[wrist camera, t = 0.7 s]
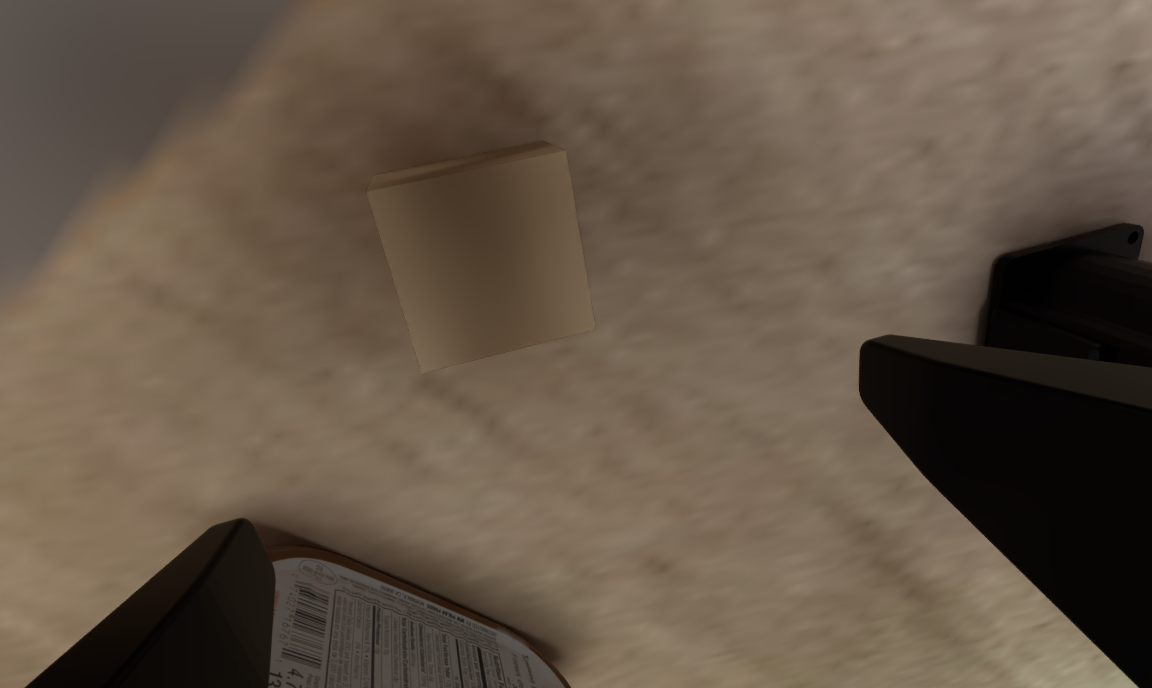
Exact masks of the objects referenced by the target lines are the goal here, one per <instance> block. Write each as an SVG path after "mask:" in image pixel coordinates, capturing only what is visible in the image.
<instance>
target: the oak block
mask: <svg viewBox="0 0 1152 688" xmlns="http://www.w3.org/2000/svg"><path fill="white" fill-rule="evenodd" d="M366 193H367V196H368V200H369V203H370V206H371V209H372V213H373V216H374V219H375V222H376V226H377V229H378V232H379V236H380V239H381V242H382V245H383V249H384V252H385V255H386V258H387V262H388V265H389V268H390V271H391V275H392V278H393V281H394V284H395V288H396V291H397V294H398V297H399V301H400V304H401V307H402V310H403V314H404V317H405V320H406V323H407V327H408V330H409V333H410V336H411V340H412V343H413V346H414V349H415V353H416V356H417V359H418V362H419V366H420V369H421V372H422V374H423V373H427V372H431V371H435V370H438V369H442V368H446V367H450V366H454V365H458V364H462V363H466V362H470V361H474V360H478V359H482V358H486V357H489V356H493V355H497V354H501V353H505V352H509V351H513V350H517V349H521V348H525V347H529V346H533V345H536V344H540V343H544V342H548V341H552V340H556V339H560V338H564V337H568V336H572V335H576V334H580V333H583V332H587V331H591V330H595V329H596V327H595V321H594V315H593V309H592V303H591V298H590V292H589V286H588V280H587V274H586V268H585V262H584V256H583V250H582V244H581V238H580V232H579V226H578V220H577V214H576V208H575V202H574V196H573V190H572V184H571V178H570V172H569V166H568V160H567V154H566V150H564V149H562V148H559V147H557V146H555V145H552V144H550V143H548V142H545V141H539V142H534V143H529V144H524V145H520V146H515V147H510V148H505V149H500V150H495V151H490V152H485V153H480V154H476V155H471V156H466V157H461V158H456V159H451V160H446V161H441V162H436V163H431V164H427V165H422V166H417V167H412V168H407V169H402V170H397V171H392V172H387V173H383V174H378V175H373V177H372V179H371V181H370V184H369V186H368V189H367V191H366Z"/></svg>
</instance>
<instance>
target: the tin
mask: <svg viewBox="0 0 1152 688" xmlns="http://www.w3.org/2000/svg"><path fill="white" fill-rule="evenodd" d="M265 549H266V551H267V553H268V555H269V557H270V559H271V561H272V563H273V566H274V570H275V576H276V586H275V601H274V617H273V632H272V647H271V662H270V676H269V686H268V688H571V687H570V685H569V684H568V682H567V681H566V680H565V678H564V677H563V676H562V675H561V674H560V672H559V671H558V670H557V669H556V668H555V667H554V666H553V665H552V663H551V662H550V661H549V660H548V659H547V658H546V657H545V656H544V655H543V654H542V653H540V652H539V651H538V650H537V649H536V648H535V647H534V646H532V645H531V644H530V643H529V642H527V641H526V640H525V639H523V638H522V637H520V636H519V635H517V634H516V633H514V632H512V631H511V630H509V629H507V628H505V627H503V626H502V625H499V624H497V623H495V622H493V621H490V620H488V619H486V618H483V617H481V616H479V615H477V614H474V613H472V612H470V611H467V610H465V609H463V608H461V607H458V606H456V605H454V604H451V603H449V602H447V601H444V600H442V599H440V598H438V597H436V596H433V595H431V594H429V593H426V592H424V591H422V590H419V589H417V588H415V587H412V586H410V585H408V584H405V583H403V582H401V581H398V580H396V579H394V578H391V577H389V576H387V575H385V574H382V573H380V572H378V571H375V570H373V569H371V568H368V567H366V566H364V565H362V564H359V563H357V562H355V561H352V560H350V559H348V558H345V557H343V556H340V555H337V554H334V553H331V552H328V551H324V550H320V549H315V548H309V547H302V546H276V547H270V548H265Z"/></svg>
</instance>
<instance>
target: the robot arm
mask: <svg viewBox="0 0 1152 688" xmlns="http://www.w3.org/2000/svg"><path fill="white" fill-rule="evenodd" d="M1143 234H1144V230H1143V227H1141V226H1140V225H1135V224H1130V223H1125V224H1121V225H1117V226H1114V227H1110V228H1106V229H1102V230H1099V231H1095V232H1091V233H1087V234H1083V235H1080V236H1076V237H1072V238H1068V239H1064V240H1061V241H1057V242H1053V243H1049V244H1046V245H1042V246H1038V247H1034V248H1030V249H1027V250H1023V251H1019V252H1015V253H1011V254H1008V255H1005V256H1003V257H1002V258H1001V259H1000V260H999V261H998V263H997V264H996V267H995V271H994V279H993V287H992V295H991V303H990V311H989V319H988V326H987V334H986V342H985V347H984V346H977V345H969V344H961V343H953V342H945V341H938V340H930V339H922V338H914V337H906V336H898V335H884V336H881V337H877V338H874V339H870V340H867V341H865V342H864V343H863V344H862V346H861V348H860V357H859V393H860V396H861V399H862V401H863V403H864V404H865V406H866V407H867V408H868V410H869V411H870V412H871V413H872V414H873V416H874V417H875V418H876V419H877V420H878V422H879V423H880V424H881V425H882V426H883V428H884V429H885V430H886V431H887V432H888V434H889V435H890V436H891V437H892V438H893V440H894V441H895V442H896V443H897V444H898V446H899V447H900V448H901V449H902V450H903V452H904V453H905V454H906V455H907V456H908V458H909V459H910V460H911V461H912V462H913V464H914V465H915V466H916V467H917V468H918V469H919V471H920V472H921V473H922V474H923V475H924V476H925V477H926V478H927V479H928V480H929V482H930V483H931V484H932V485H933V486H934V487H935V488H936V489H937V490H938V491H939V492H940V493H941V494H942V495H943V496H944V497H945V498H946V499H947V500H948V501H949V502H950V503H951V504H952V505H953V506H954V507H955V508H957V509H958V510H959V511H960V512H961V513H962V514H963V515H964V516H965V517H966V518H967V519H968V520H969V521H970V522H971V523H972V524H973V525H974V526H975V527H976V528H977V529H978V530H979V531H980V532H981V533H982V534H983V535H984V536H985V537H986V538H987V539H988V540H989V541H990V542H991V543H992V544H993V545H994V546H995V547H996V548H997V549H998V550H999V551H1000V552H1001V553H1002V554H1003V555H1004V556H1005V557H1006V558H1007V559H1008V560H1009V561H1010V562H1011V563H1012V564H1013V565H1014V566H1015V567H1016V568H1018V569H1019V570H1020V571H1021V572H1022V573H1023V574H1024V575H1025V576H1026V577H1027V578H1028V579H1029V580H1030V581H1031V582H1032V583H1033V584H1034V585H1035V586H1036V587H1037V588H1038V589H1039V590H1040V591H1041V592H1042V593H1043V594H1044V595H1045V596H1046V597H1047V598H1048V599H1049V600H1050V601H1051V602H1052V603H1053V604H1054V605H1055V606H1056V607H1057V608H1058V609H1059V610H1060V611H1061V612H1062V613H1063V614H1064V615H1065V616H1066V617H1067V618H1068V619H1069V620H1070V621H1071V622H1072V623H1073V624H1074V625H1075V626H1076V627H1077V628H1079V629H1080V630H1081V631H1082V632H1083V633H1084V634H1085V635H1086V636H1087V637H1088V638H1089V639H1090V640H1091V641H1092V642H1093V643H1094V644H1095V645H1096V646H1097V647H1098V648H1099V649H1100V650H1101V651H1102V652H1103V653H1104V654H1105V655H1106V656H1107V657H1108V658H1109V659H1110V660H1111V661H1112V662H1113V663H1114V664H1115V665H1116V666H1117V667H1118V668H1119V669H1120V670H1121V671H1122V672H1123V673H1124V674H1125V675H1126V676H1127V677H1128V678H1129V679H1130V680H1131V681H1132V682H1133V683H1134V684H1135V685H1136V686H1137V687H1138V688H1152V263H1149V262H1144V261H1140V260H1138V257H1139V252H1140V248H1141V244H1142V239H1143ZM1010 267H1011V268H1010ZM275 586H276V576H275V570H274V566H273V563H272V561H271V559H270V557H269V555H268V553H267V551H266V549H265V547H264V545H263V543H262V541H261V539H260V537H259V535H258V534H257V532H256V530H255V528H254V526H253V524H252V523H251V522H250V521H249V520H248V519H245V518H238V519H235V520H231V521H228V522H224V523H221V524H217V525H214V526H212V527H211V528H209V529H208V530H207V531H206V532H205V533H203V534H202V535H201V536H200V537H199V538H198V539H196V540H195V541H194V542H193V543H192V544H191V545H189V546H188V547H187V548H186V549H185V550H184V551H182V552H181V553H180V554H179V555H178V556H177V557H176V558H174V559H173V560H172V561H171V562H170V563H169V564H167V565H166V566H165V567H164V568H163V569H162V570H160V571H159V572H158V573H157V574H156V575H155V576H153V577H152V578H151V579H150V580H149V581H148V582H146V583H145V584H144V585H143V586H142V587H141V588H140V589H138V590H137V591H136V592H135V593H134V594H133V595H131V596H130V597H129V598H128V599H127V600H126V601H124V602H123V603H122V604H121V605H120V606H119V607H117V608H116V609H115V610H114V611H113V612H112V613H111V614H109V615H108V616H107V617H106V618H105V619H104V620H102V621H101V622H100V623H99V624H98V625H97V626H95V627H94V628H93V629H92V630H91V631H90V632H88V633H87V634H86V635H85V636H84V637H83V638H82V639H80V640H79V641H78V642H77V643H76V644H75V645H73V646H72V647H71V648H70V649H69V650H68V651H66V652H65V653H64V654H63V655H62V656H61V657H59V658H58V659H57V660H56V661H55V662H54V663H52V664H51V665H50V666H49V667H48V668H47V669H46V670H44V671H43V672H42V673H41V674H40V675H39V676H37V677H36V678H35V679H34V680H33V681H32V682H30V683H29V684H28V685H27V686H26V687H25V688H268V686H269V676H270V662H271V647H272V632H273V617H274V601H275Z"/></svg>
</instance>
